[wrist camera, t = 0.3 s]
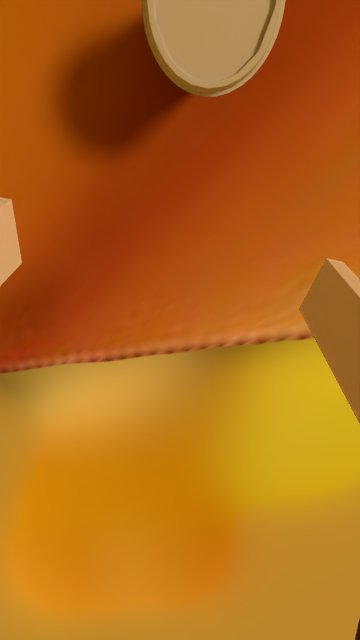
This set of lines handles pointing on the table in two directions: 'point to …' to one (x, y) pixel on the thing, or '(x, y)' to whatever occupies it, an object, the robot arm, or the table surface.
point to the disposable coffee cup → (211, 40)
